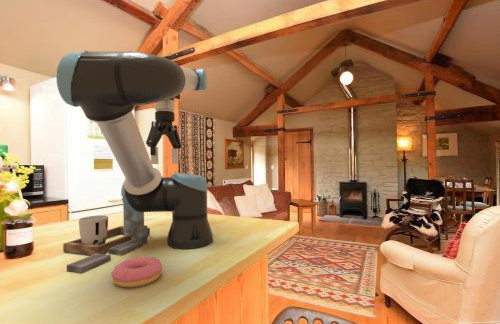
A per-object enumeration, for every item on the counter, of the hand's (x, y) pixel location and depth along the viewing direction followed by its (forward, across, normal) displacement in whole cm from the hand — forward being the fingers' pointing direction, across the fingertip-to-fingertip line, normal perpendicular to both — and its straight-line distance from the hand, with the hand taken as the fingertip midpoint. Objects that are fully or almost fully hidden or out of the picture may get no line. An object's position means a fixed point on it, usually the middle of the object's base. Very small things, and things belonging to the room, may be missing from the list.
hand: (165, 164), depth 107 cm
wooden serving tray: (+27, +20, -8) cm, 34 cm away
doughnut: (+27, +41, +21) cm, 53 cm away
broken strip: (+27, +29, +2) cm, 40 cm away
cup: (+27, +27, -8) cm, 39 cm away
